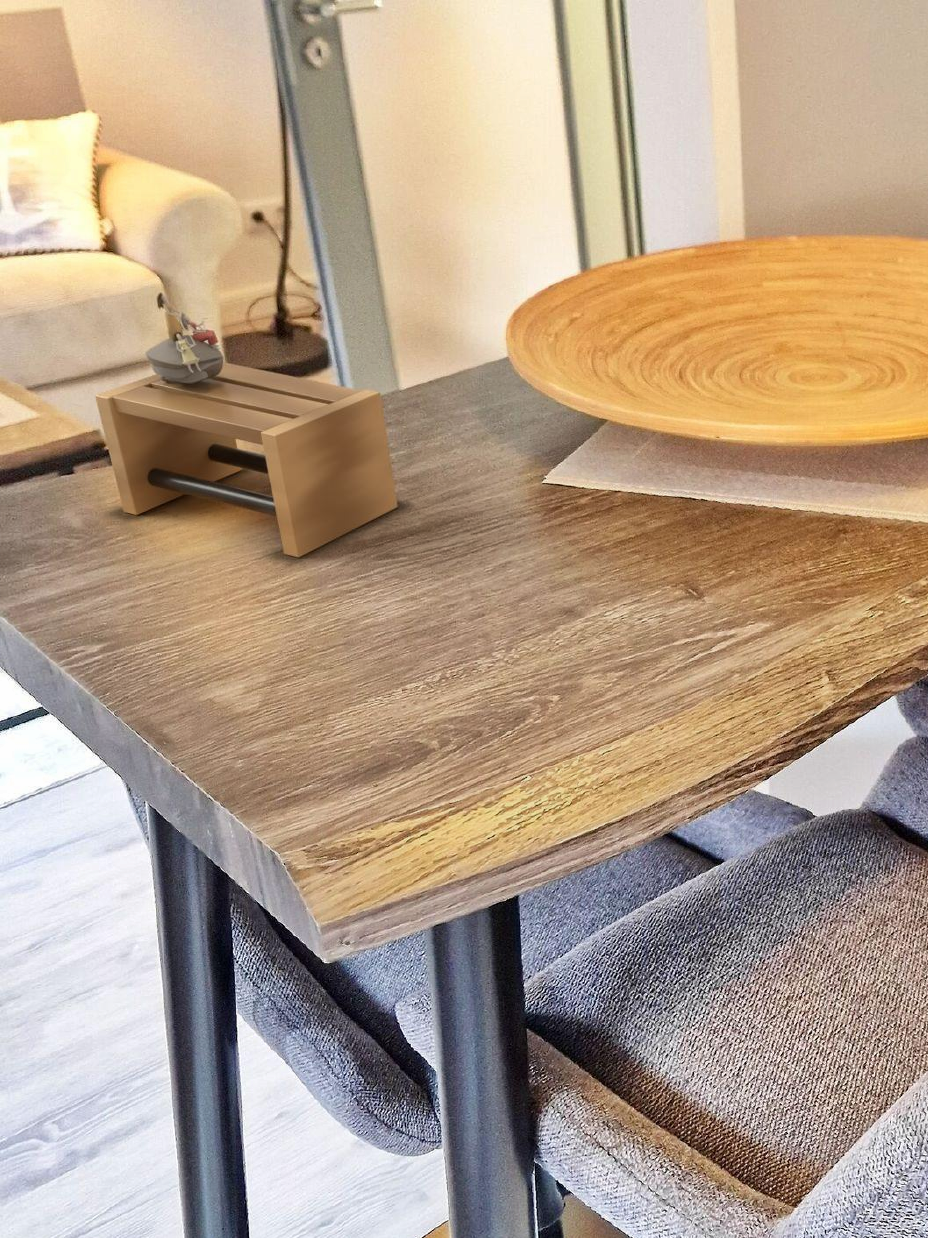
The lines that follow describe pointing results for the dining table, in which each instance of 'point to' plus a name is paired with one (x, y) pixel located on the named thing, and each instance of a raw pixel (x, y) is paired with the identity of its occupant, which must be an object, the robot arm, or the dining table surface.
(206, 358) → the figurine
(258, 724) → the dining table surface
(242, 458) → the rack
